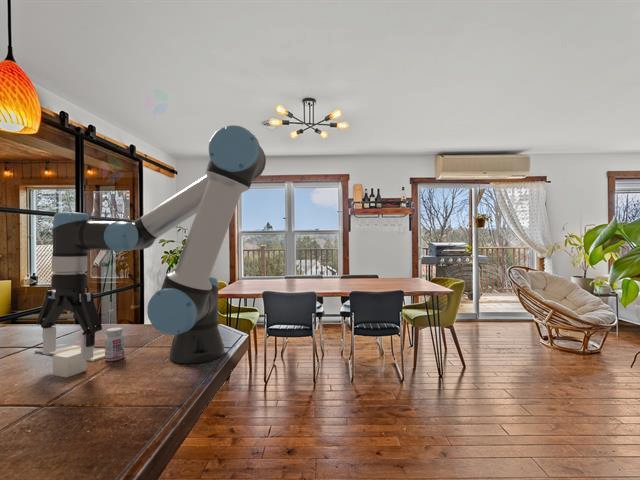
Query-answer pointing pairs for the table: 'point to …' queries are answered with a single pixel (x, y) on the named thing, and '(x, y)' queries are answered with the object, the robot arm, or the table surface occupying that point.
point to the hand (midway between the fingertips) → (67, 355)
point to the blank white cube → (68, 363)
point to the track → (62, 348)
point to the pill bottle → (114, 344)
